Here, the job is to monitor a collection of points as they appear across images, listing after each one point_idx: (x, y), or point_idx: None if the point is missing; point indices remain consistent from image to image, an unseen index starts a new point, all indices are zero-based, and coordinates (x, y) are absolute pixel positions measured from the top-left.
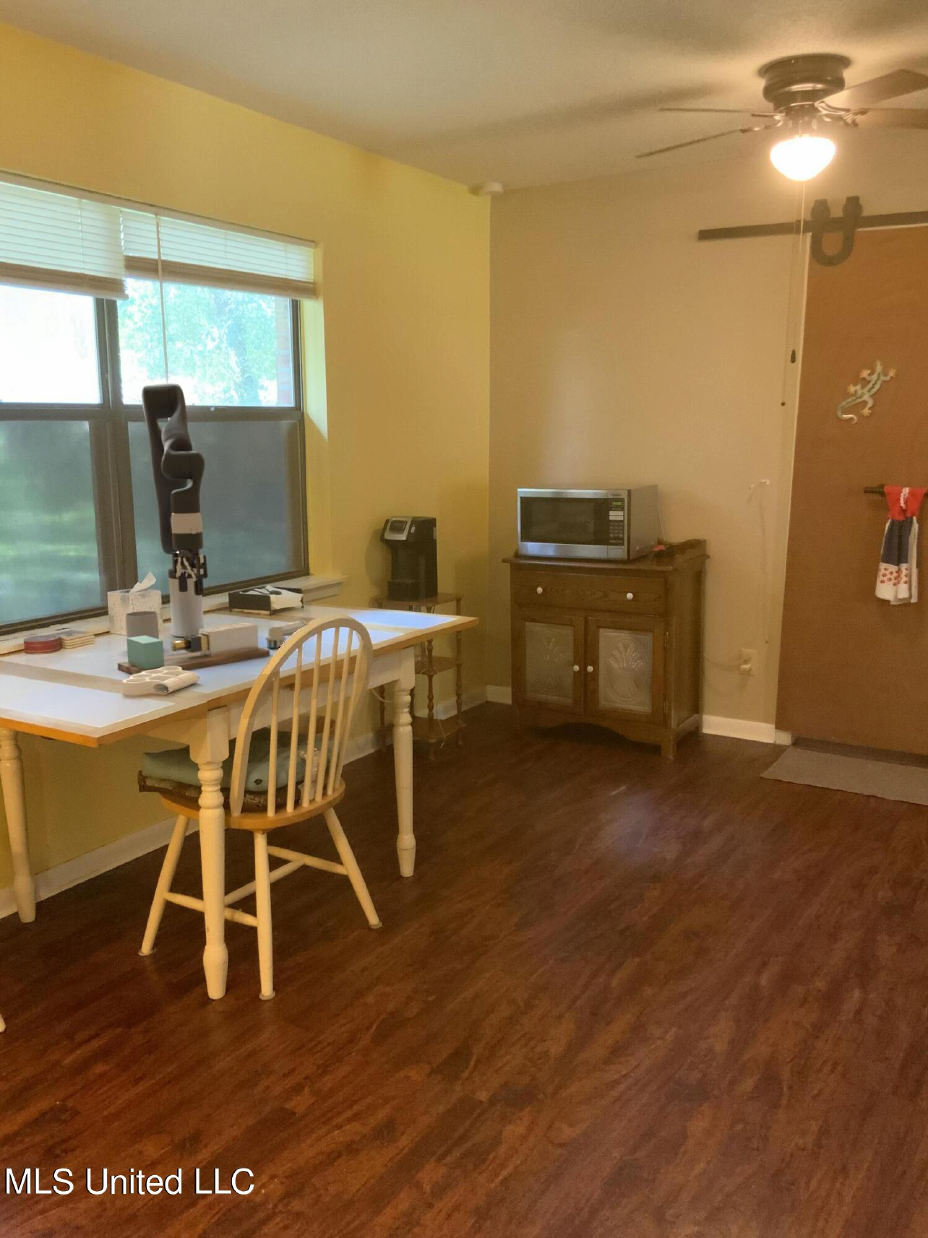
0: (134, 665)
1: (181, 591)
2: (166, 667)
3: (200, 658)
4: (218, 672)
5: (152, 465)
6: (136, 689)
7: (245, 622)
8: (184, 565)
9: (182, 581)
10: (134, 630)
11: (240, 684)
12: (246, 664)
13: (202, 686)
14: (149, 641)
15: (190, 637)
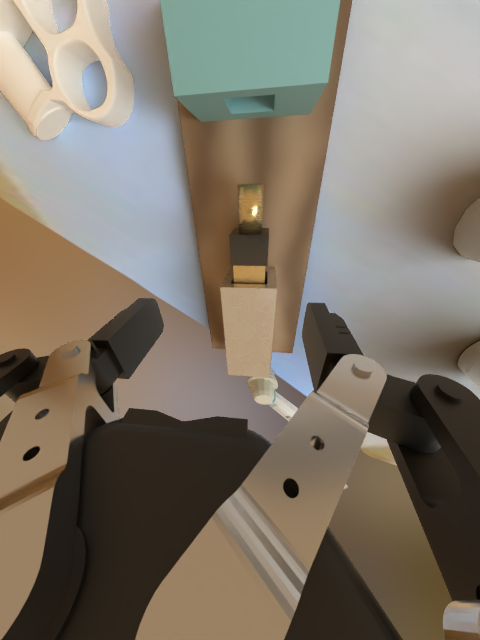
0: None
1: (308, 308)
2: (106, 75)
3: (226, 241)
4: (140, 228)
5: None
6: None
7: (266, 375)
8: (192, 472)
9: (316, 352)
10: None
11: (28, 208)
12: (177, 293)
13: (22, 132)
14: (184, 22)
15: (238, 240)
